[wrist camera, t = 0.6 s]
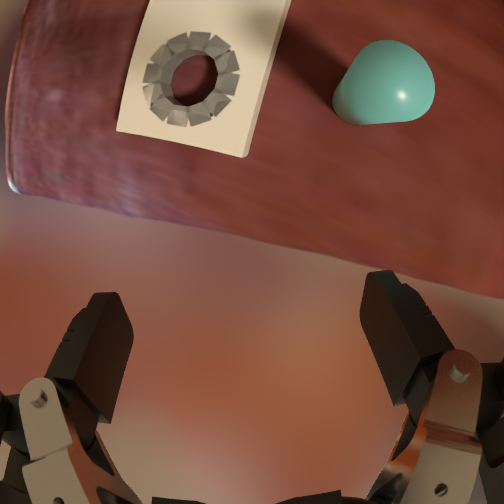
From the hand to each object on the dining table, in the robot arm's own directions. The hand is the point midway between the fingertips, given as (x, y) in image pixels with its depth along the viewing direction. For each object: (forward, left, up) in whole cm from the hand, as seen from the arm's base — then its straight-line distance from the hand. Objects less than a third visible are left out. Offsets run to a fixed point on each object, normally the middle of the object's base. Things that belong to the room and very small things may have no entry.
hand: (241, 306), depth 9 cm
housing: (-18, -3, -22) cm, 28 cm away
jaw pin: (-6, +8, -22) cm, 24 cm away
